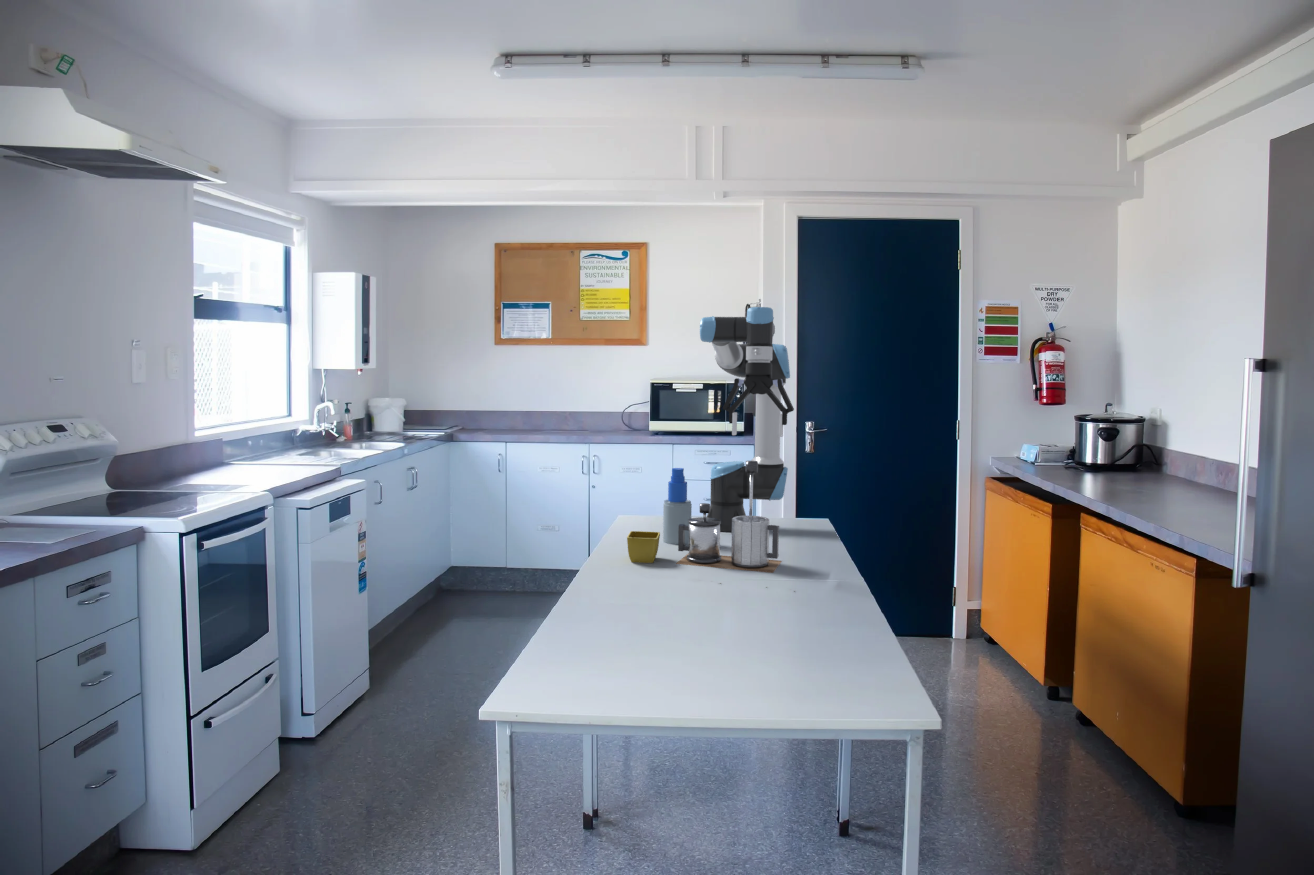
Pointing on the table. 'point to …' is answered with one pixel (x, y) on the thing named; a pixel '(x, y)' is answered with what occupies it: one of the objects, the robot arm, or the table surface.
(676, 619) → the table surface
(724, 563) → the serving board
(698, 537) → the short press
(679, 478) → the spray bottle
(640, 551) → the flower pot
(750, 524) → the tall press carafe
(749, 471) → the plunger
